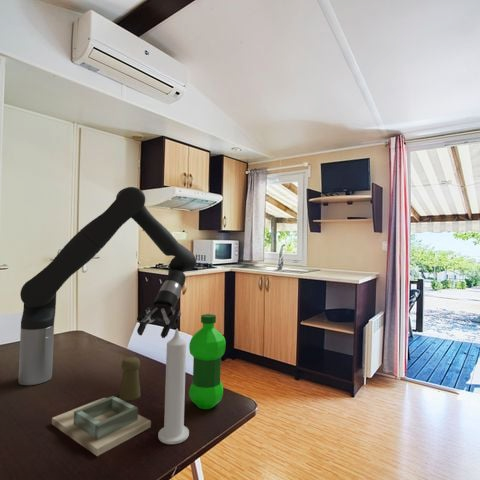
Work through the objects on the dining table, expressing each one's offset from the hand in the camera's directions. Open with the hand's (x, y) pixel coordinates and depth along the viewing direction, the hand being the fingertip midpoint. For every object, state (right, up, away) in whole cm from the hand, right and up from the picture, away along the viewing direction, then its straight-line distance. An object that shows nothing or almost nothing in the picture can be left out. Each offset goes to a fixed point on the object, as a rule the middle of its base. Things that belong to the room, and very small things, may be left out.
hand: (150, 335), depth 106 cm
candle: (+14, -15, -30) cm, 36 cm away
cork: (-3, -15, -11) cm, 19 cm away
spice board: (-5, -14, -27) cm, 31 cm away
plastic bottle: (+20, -15, -15) cm, 29 cm away
